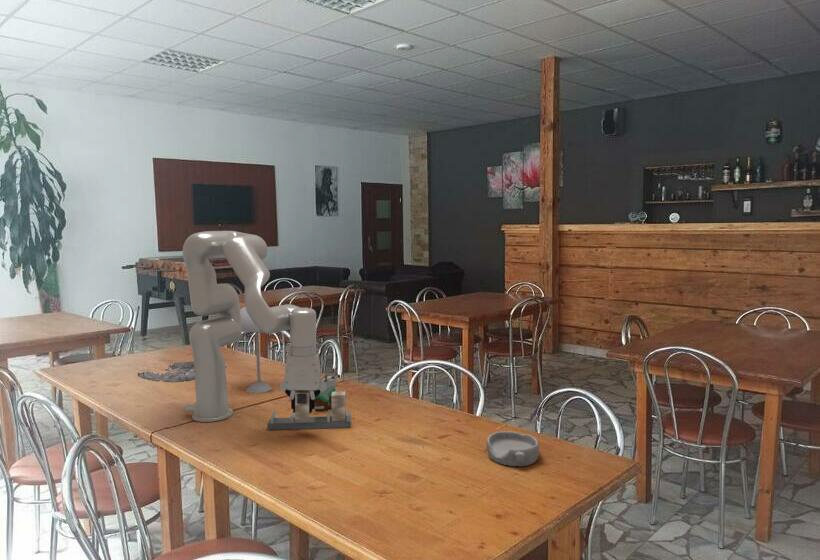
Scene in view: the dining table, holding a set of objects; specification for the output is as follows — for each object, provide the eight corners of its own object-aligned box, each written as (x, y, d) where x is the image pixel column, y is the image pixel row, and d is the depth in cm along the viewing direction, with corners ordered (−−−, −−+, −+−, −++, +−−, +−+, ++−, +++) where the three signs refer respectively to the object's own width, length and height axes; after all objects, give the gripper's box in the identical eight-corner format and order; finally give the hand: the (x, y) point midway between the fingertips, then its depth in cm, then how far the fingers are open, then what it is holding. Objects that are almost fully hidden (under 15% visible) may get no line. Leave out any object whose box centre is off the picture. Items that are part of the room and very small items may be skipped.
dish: (528, 473, 148) (528, 453, 148) (477, 461, 156) (477, 443, 155) (547, 453, 160) (547, 435, 160) (499, 443, 168) (499, 426, 167)
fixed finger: (329, 421, 182) (328, 395, 181) (330, 416, 186) (329, 391, 185) (345, 420, 182) (344, 395, 181) (346, 416, 186) (345, 391, 185)
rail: (267, 430, 181) (266, 417, 180) (270, 424, 186) (270, 411, 185) (350, 427, 182) (349, 414, 181) (351, 421, 187) (350, 409, 186)
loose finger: (294, 420, 173) (294, 393, 172) (297, 414, 178) (297, 388, 177) (308, 420, 173) (308, 393, 172) (310, 414, 178) (310, 388, 177)
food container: (331, 413, 195) (330, 383, 194) (313, 412, 196) (312, 382, 195) (342, 402, 207) (342, 373, 206) (326, 401, 208) (325, 373, 207)
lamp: (243, 383, 232) (240, 299, 229) (287, 383, 232) (284, 298, 228) (229, 396, 215) (224, 305, 212) (276, 396, 215) (272, 305, 211)
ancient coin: (164, 361, 271) (164, 360, 271) (237, 362, 267) (237, 362, 267) (119, 381, 239) (119, 380, 239) (201, 383, 234) (201, 382, 234)
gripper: (271, 353, 169) (272, 415, 172) (330, 354, 170) (330, 416, 173) (276, 347, 177) (276, 406, 179) (333, 347, 178) (332, 407, 180)
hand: (303, 410), depth 176 cm, fingers closed on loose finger, 4 cm apart
